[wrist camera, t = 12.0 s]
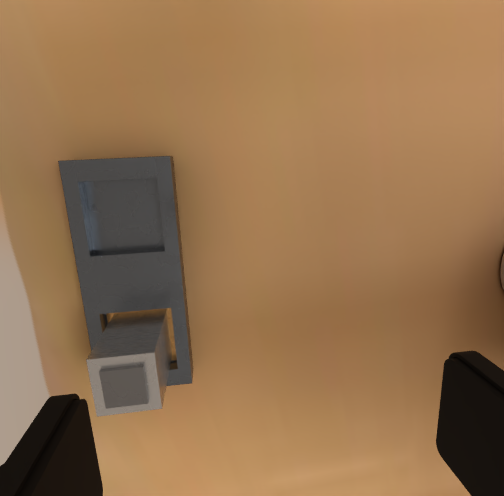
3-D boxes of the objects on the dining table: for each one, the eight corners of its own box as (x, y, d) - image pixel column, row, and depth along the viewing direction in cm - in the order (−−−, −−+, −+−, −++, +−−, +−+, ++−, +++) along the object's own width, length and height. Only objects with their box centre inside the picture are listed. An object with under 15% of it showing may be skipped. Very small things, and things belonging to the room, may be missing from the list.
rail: (172, 156, 32) (169, 156, 30) (193, 368, 38) (192, 383, 35) (69, 160, 31) (58, 160, 29) (106, 377, 37) (98, 393, 34)
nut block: (166, 309, 35) (153, 355, 26) (172, 354, 36) (161, 412, 28) (114, 314, 34) (84, 362, 26) (121, 360, 35) (95, 420, 27)
